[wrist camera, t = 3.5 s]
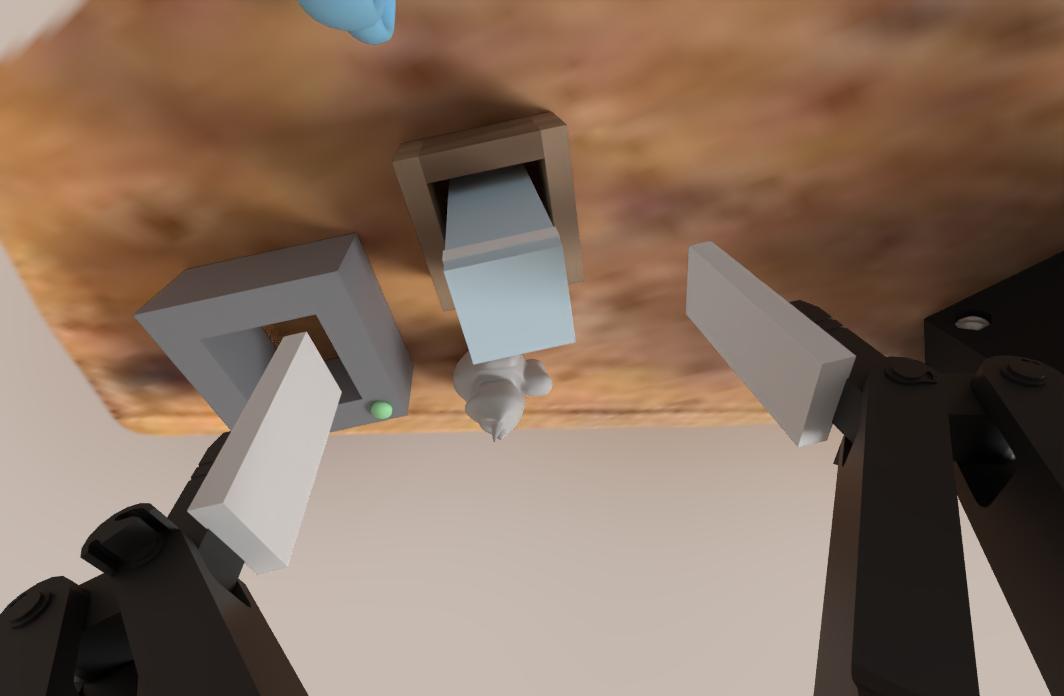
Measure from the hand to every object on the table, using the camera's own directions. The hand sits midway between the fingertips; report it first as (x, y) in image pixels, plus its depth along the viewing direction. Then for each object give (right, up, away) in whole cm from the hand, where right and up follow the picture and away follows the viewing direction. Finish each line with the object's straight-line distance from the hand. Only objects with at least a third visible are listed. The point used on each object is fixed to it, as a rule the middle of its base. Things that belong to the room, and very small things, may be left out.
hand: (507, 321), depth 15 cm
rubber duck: (-2, -1, +17) cm, 17 cm away
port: (-13, +1, +13) cm, 18 cm away
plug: (-1, +7, +10) cm, 13 cm away
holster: (-1, +7, +10) cm, 13 cm away
